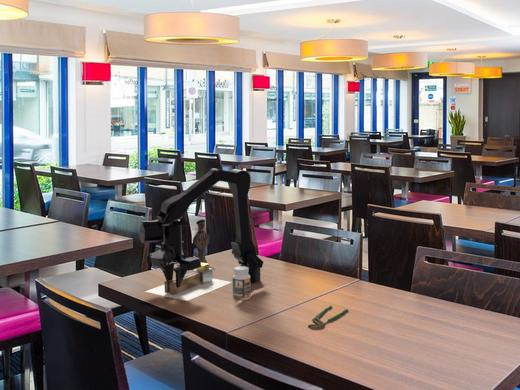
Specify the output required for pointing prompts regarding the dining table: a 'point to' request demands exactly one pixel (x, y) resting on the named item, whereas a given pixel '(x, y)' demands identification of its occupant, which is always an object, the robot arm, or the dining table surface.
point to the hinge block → (204, 275)
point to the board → (191, 290)
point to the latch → (203, 267)
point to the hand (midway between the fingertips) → (173, 286)
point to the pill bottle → (241, 283)
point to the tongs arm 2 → (185, 283)
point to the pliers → (321, 324)
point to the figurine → (201, 240)
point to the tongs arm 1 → (167, 283)
